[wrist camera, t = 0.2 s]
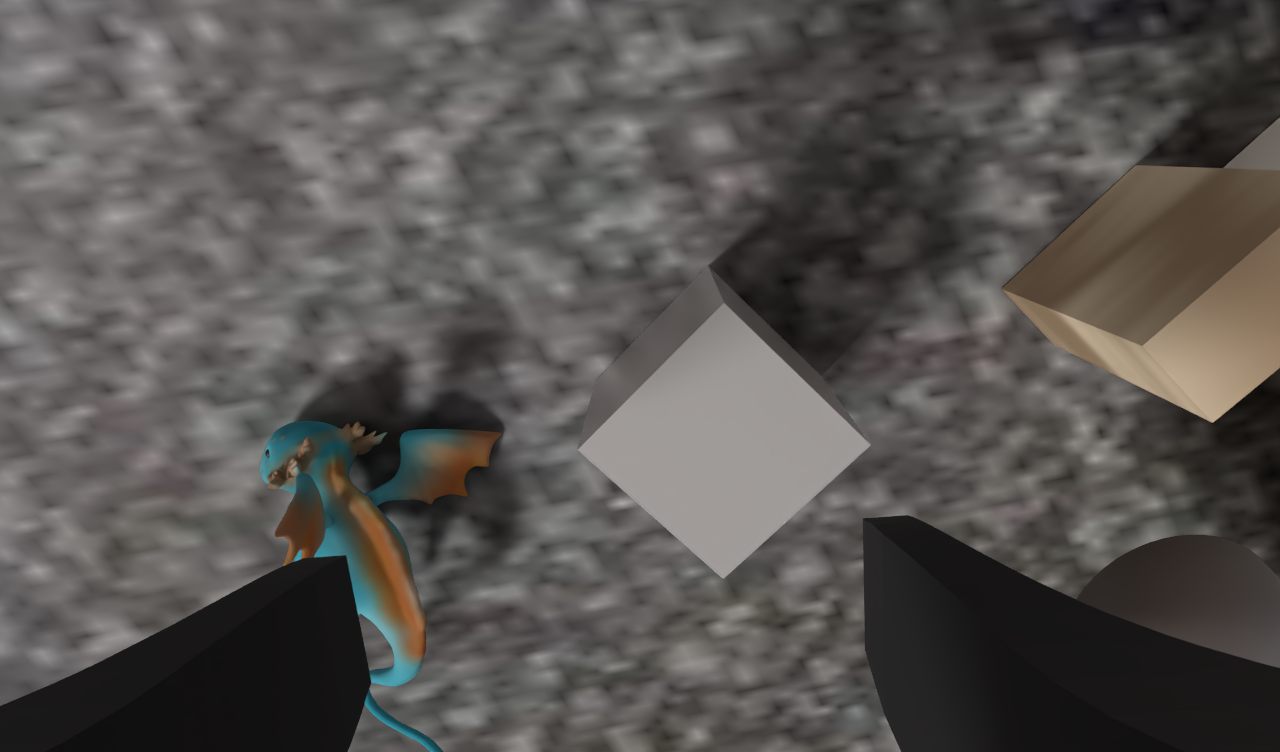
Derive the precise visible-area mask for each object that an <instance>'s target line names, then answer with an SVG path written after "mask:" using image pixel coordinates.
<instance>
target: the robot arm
mask: <svg viewBox="0 0 1280 752" xmlns="http://www.w3.org/2000/svg"><path fill="white" fill-rule="evenodd" d="M863 550H864V610H865V651H866V655H867V658H868V661H869V665H870V668H871V672H872V675H873V679H874V682H875V685H876V689H877V692H878V695H879V698H880V701H881V704H882V708H883V711H884V714H885V716H886V718H887V721H888V723H889V725H890V728H891V730H892V732H893V734H894V737H895V739H896V741H897V743H898V745H899V748H900V750H901V752H1280V668H1278V667H1274V666H1270V665H1266V664H1262V663H1259V662H1255V661H1252V660H1248V659H1245V658H1241V657H1238V656H1234V655H1231V654H1227V653H1224V652H1220V651H1217V650H1213V649H1210V648H1207V647H1203V646H1200V645H1196V644H1193V643H1190V642H1187V641H1184V640H1181V639H1178V638H1175V637H1172V636H1169V635H1166V634H1163V633H1160V632H1157V631H1155V630H1152V629H1149V628H1147V627H1144V626H1141V625H1139V624H1136V623H1133V622H1130V621H1128V620H1125V619H1122V618H1120V617H1117V616H1114V615H1111V614H1109V613H1106V612H1104V611H1102V610H1099V609H1097V608H1094V607H1092V606H1089V605H1087V604H1085V603H1082V602H1080V601H1078V600H1076V599H1074V598H1071V597H1069V596H1067V595H1065V594H1063V593H1061V592H1058V591H1056V590H1054V589H1052V588H1050V587H1047V586H1045V585H1043V584H1041V583H1039V582H1037V581H1035V580H1033V579H1031V578H1029V577H1027V576H1025V575H1023V574H1021V573H1019V572H1017V571H1015V570H1013V569H1011V568H1009V567H1007V566H1005V565H1003V564H1001V563H999V562H997V561H996V560H994V559H992V558H990V557H988V556H986V555H984V554H982V553H981V552H979V551H977V550H975V549H973V548H971V547H969V546H968V545H966V544H964V543H962V542H960V541H959V540H957V539H955V538H953V537H951V536H949V535H948V534H946V533H944V532H942V531H940V530H938V529H936V528H934V527H933V526H931V525H929V524H927V523H925V522H923V521H921V520H918V519H916V518H914V517H911V516H908V515H906V516H892V517H878V518H864V519H863ZM370 684H371V678H370V673H369V668H368V663H367V658H366V652H365V647H364V642H363V637H362V632H361V627H360V622H359V617H358V612H357V607H356V602H355V597H354V592H353V587H352V582H351V577H350V572H349V567H348V562H347V557H346V555H341V556H327V557H313V558H303V559H300V560H297V561H295V562H292V563H290V564H287V565H285V566H283V567H281V568H278V569H276V570H274V571H272V572H270V573H268V574H266V575H264V576H262V577H260V578H258V579H256V580H255V581H253V582H251V583H249V584H247V585H245V586H243V587H241V588H240V589H238V590H236V591H234V592H232V593H230V594H229V595H227V596H225V597H223V598H221V599H219V600H218V601H216V602H214V603H212V604H210V605H208V606H207V607H205V608H203V609H201V610H199V611H197V612H196V613H194V614H192V615H190V616H188V617H186V618H185V619H183V620H181V621H179V622H177V623H175V624H173V625H171V626H170V627H168V628H166V629H164V630H162V631H160V632H158V633H156V634H154V635H152V636H150V637H148V638H146V639H144V640H142V641H140V642H138V643H136V644H134V645H132V646H130V647H128V648H126V649H124V650H123V651H121V652H119V653H117V654H115V655H113V656H111V657H109V658H107V659H105V660H103V661H101V662H99V663H97V664H95V665H93V666H91V667H88V668H86V669H84V670H82V671H80V672H78V673H76V674H73V675H71V676H69V677H67V678H65V679H62V680H60V681H58V682H56V683H54V684H51V685H49V686H47V687H44V688H42V689H40V690H37V691H35V692H32V693H30V694H28V695H25V696H23V697H21V698H18V699H16V700H14V701H11V702H9V703H7V704H4V705H2V706H0V752H347V751H348V749H349V747H350V744H351V742H352V739H353V736H354V733H355V730H356V728H357V725H358V722H359V719H360V716H361V713H362V710H363V707H364V703H365V700H366V697H367V694H368V691H369V688H370Z"/></svg>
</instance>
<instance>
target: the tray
mask: <svg viewBox="0 0 1280 752" xmlns="http://www.w3.org/2000/svg"><path fill="white" fill-rule="evenodd" d="M1224 168H1229V169H1258V170H1280V117H1279V118H1278V119H1277V120H1276V121H1275V122H1274V123H1273V124H1272V125H1270V126H1269V127H1268V128H1267V129H1266V130H1265V131H1264V132H1263V133H1262V134H1260V135H1259V136H1258V137H1257V138H1256V139H1255V140H1254V141H1253V142H1251V143H1250V144H1249V145H1248V146H1247V147H1246V148H1245V149H1244V150H1243V151H1241V152H1240V153H1239V154H1238V155H1237V156H1236V157H1235V158H1234V159H1232V160H1231V161H1230V162H1229V163H1228V164H1227V165H1226V166H1225V167H1224Z"/></svg>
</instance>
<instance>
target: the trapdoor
mask: <svg viewBox="0 0 1280 752" xmlns="http://www.w3.org/2000/svg"><path fill="white" fill-rule="evenodd" d="M1077 600H1078V601H1080V602H1082V603H1085V604H1087V605H1089V606H1092V607H1094V608H1097V609H1099V610H1102V611H1104V612H1106V613H1109V614H1111V615H1114V616H1117V617H1120V618H1122V619H1125V620H1128V621H1130V622H1133V623H1136V624H1139V625H1141V626H1144V627H1147V628H1149V629H1152V630H1155V631H1157V632H1160V633H1163V634H1166V635H1169V636H1172V637H1175V638H1178V639H1181V640H1184V641H1187V642H1190V643H1193V644H1196V645H1200V646H1203V647H1207V648H1210V649H1213V650H1217V651H1220V652H1224V653H1227V654H1231V655H1234V656H1238V657H1241V658H1245V659H1248V660H1252V661H1255V662H1259V663H1262V664H1266V665H1270V666H1274V667H1278V668H1280V579H1279V578H1278V577H1277V576H1276V574H1275V573H1274V572H1273V571H1272V570H1271V569H1270V568H1269V567H1268V566H1267V565H1266V564H1265V563H1264V562H1263V561H1262V560H1261V559H1260V558H1259V557H1258V556H1257V555H1256V554H1255V553H1253V552H1252V551H1251V550H1249V549H1248V548H1246V547H1244V546H1242V545H1241V544H1238V543H1236V542H1233V541H1231V540H1228V539H1224V538H1220V537H1216V536H1208V535H1182V536H1174V537H1169V538H1164V539H1160V540H1157V541H1153V542H1150V543H1148V544H1145V545H1142V546H1140V547H1138V548H1136V549H1134V550H1132V551H1129V552H1127V553H1126V554H1124V555H1122V556H1121V557H1119V558H1117V559H1116V560H1114V561H1113V562H1112V563H1110V564H1109V565H1108V566H1106V567H1105V568H1104V569H1103V570H1101V571H1100V572H1099V573H1098V574H1097V575H1096V576H1095V577H1094V578H1093V579H1092V580H1091V581H1090V582H1089V583H1088V584H1087V586H1086V587H1085V588H1084V589H1083V591H1082V592H1081V593H1080V595H1079V596H1078V598H1077Z"/></svg>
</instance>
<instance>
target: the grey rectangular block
mask: <svg viewBox="0 0 1280 752" xmlns="http://www.w3.org/2000/svg"><path fill="white" fill-rule="evenodd" d="M869 446H871V444H870V443H869V442H868V440H867V439H866V437H865V436H864V435H863V433H862V432H861V430H860V429H859V428H858V426H857V425H856V424H855V422H854V421H853V419H852V418H851V417H850V415H849V414H848V412H847V411H846V410H845V408H844V407H843V406H842V404H841V403H840V401H839V400H838V399H837V397H836V396H835V394H834V393H833V392H832V390H831V389H830V388H829V386H828V385H827V383H826V382H825V381H824V379H823V378H822V376H821V375H820V374H819V373H818V372H816V371H815V370H814V369H813V368H812V367H811V366H810V365H809V364H808V363H807V362H806V361H805V360H804V359H803V358H802V357H801V356H800V355H799V354H798V353H797V352H796V351H795V350H794V349H793V348H792V347H791V346H790V345H789V344H788V343H787V342H786V341H785V340H784V339H783V338H782V337H781V336H780V335H778V334H777V333H776V332H775V331H774V330H773V329H772V328H771V327H770V326H769V325H768V324H767V323H766V322H765V321H764V320H763V319H762V318H761V317H760V316H759V315H758V314H757V313H756V312H755V311H754V310H753V309H752V308H751V307H750V306H749V305H748V304H747V303H746V302H745V301H744V300H743V299H742V298H740V297H739V296H738V295H737V294H736V293H735V292H734V291H733V290H732V289H731V288H730V287H729V286H728V285H727V284H726V283H725V282H724V281H723V280H722V279H721V278H720V277H719V276H718V275H717V274H716V273H715V272H714V271H713V270H712V269H711V268H710V267H709V266H707V267H706V268H705V269H704V270H703V271H702V272H701V273H700V274H699V275H698V276H697V277H696V278H695V279H694V280H693V281H692V282H691V283H690V284H689V286H688V287H687V288H686V289H685V290H684V291H683V292H682V293H681V294H680V295H679V296H678V297H677V298H676V299H675V300H674V301H673V302H672V303H671V304H670V305H669V306H668V307H667V308H666V309H665V310H664V311H663V312H662V313H661V314H660V315H659V316H658V317H657V318H656V319H655V320H654V321H653V322H652V323H651V324H650V325H649V326H648V327H647V328H646V329H645V330H644V332H643V333H642V334H641V335H640V336H639V337H638V338H637V339H636V340H635V341H634V342H633V343H632V344H631V345H630V346H629V347H628V348H627V349H626V350H625V351H624V352H623V353H622V354H621V355H620V356H619V357H618V358H617V359H616V360H615V361H614V362H613V363H612V364H611V365H610V366H609V367H608V368H607V369H606V370H605V371H604V372H603V373H602V374H601V375H600V376H599V378H598V379H597V380H596V381H595V385H594V389H593V392H592V396H591V400H590V404H589V408H588V412H587V415H586V419H585V423H584V427H583V431H582V435H581V438H580V442H579V446H578V451H579V452H581V453H582V454H583V455H584V456H585V457H586V458H587V459H588V460H590V461H591V462H592V463H593V464H594V465H595V466H596V467H598V468H599V469H600V470H601V471H602V472H603V473H604V474H605V475H607V476H608V477H609V478H610V479H611V480H612V481H613V482H614V483H616V484H617V485H618V486H619V487H620V488H621V489H622V490H623V491H625V492H626V493H627V494H628V495H629V496H630V497H631V498H632V499H634V500H635V501H636V502H637V503H638V504H639V505H640V506H641V507H643V508H644V509H645V510H646V511H647V512H648V513H649V514H651V515H652V516H653V517H654V518H655V519H656V520H657V521H658V522H660V523H661V524H662V525H663V526H664V527H665V528H666V529H667V530H669V531H670V532H671V533H672V534H673V535H674V536H675V537H676V538H678V539H679V540H680V541H681V542H682V543H683V544H684V545H685V546H687V547H688V548H689V549H690V550H691V551H692V552H693V553H694V554H696V555H697V556H698V557H699V558H700V559H701V560H702V561H704V562H705V563H706V564H707V565H708V566H709V567H710V568H711V569H713V570H714V571H715V572H716V573H717V574H718V575H719V576H720V577H722V578H723V579H724V578H725V577H726V576H727V575H728V574H729V573H730V572H732V571H733V570H734V569H735V568H736V567H737V566H738V565H739V564H740V563H741V562H743V561H744V560H745V559H746V558H747V557H748V556H749V555H750V554H751V553H752V552H754V551H755V550H756V549H757V548H758V547H759V546H760V545H761V544H762V543H764V542H765V541H766V540H767V539H768V538H769V537H770V536H771V535H772V534H773V533H775V532H776V531H777V530H778V529H779V528H780V527H781V526H782V525H783V524H784V523H786V522H787V521H788V520H789V519H790V518H791V517H792V516H793V515H794V514H796V513H797V512H798V511H799V510H800V509H801V508H802V507H803V506H804V505H805V504H807V503H808V502H809V501H810V500H811V499H812V498H813V497H814V496H815V495H816V494H818V493H819V492H820V491H821V490H822V489H823V488H824V487H825V486H826V485H827V484H829V483H830V482H831V481H832V480H833V479H834V478H835V477H836V476H837V475H839V474H840V473H841V472H842V471H843V470H844V469H845V468H846V467H847V466H848V465H850V464H851V463H852V462H853V461H854V460H855V459H856V458H857V457H858V456H859V455H861V454H862V453H863V452H864V451H865V450H866V449H867V448H868V447H869Z"/></svg>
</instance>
